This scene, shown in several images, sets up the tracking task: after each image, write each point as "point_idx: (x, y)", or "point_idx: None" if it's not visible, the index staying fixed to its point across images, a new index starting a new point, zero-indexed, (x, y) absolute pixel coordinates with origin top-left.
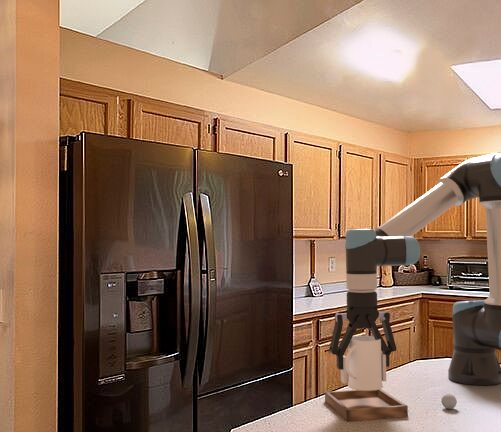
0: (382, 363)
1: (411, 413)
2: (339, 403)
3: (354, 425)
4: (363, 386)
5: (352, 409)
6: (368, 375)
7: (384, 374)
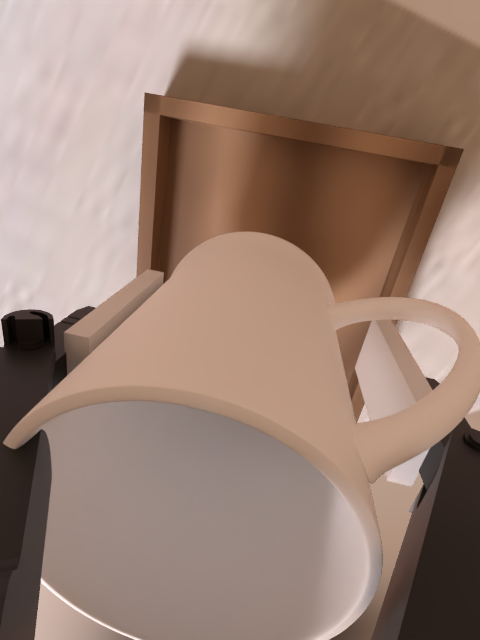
0: (121, 319)
1: (126, 138)
2: (411, 272)
3: (456, 78)
4: (302, 258)
5: (427, 153)
6: (272, 262)
7: (143, 283)
